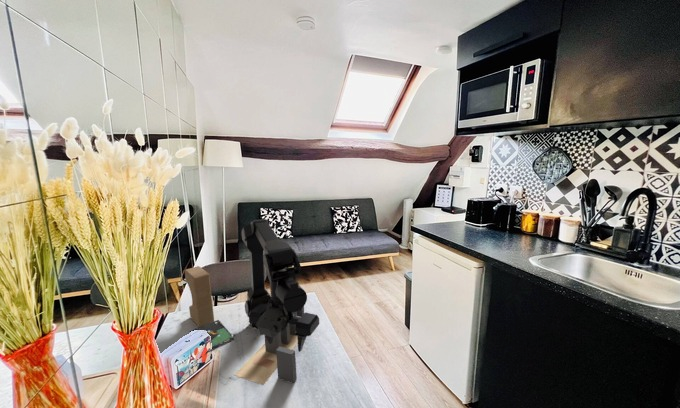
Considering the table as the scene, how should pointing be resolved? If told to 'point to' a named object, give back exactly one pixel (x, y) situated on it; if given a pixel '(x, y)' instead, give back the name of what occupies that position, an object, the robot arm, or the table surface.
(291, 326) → the domino
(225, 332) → the disk drive
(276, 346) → the domino
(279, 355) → the domino
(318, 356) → the table surface
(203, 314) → the decorative block
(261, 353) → the board
